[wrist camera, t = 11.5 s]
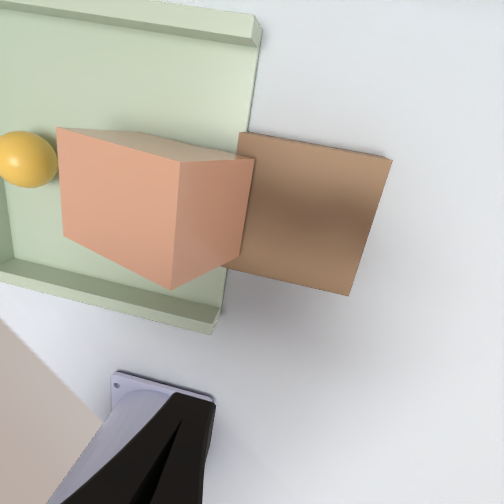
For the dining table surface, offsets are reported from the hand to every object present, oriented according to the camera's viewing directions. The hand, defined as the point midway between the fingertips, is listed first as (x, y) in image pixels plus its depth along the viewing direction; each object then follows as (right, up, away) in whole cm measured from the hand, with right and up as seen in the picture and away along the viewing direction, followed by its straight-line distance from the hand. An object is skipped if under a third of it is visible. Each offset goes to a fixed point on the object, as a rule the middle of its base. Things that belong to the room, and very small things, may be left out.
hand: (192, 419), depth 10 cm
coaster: (+5, +8, +7) cm, 12 cm away
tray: (-6, +10, +9) cm, 15 cm away
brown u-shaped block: (0, +7, +4) cm, 8 cm away
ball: (-10, +10, +6) cm, 15 cm away
